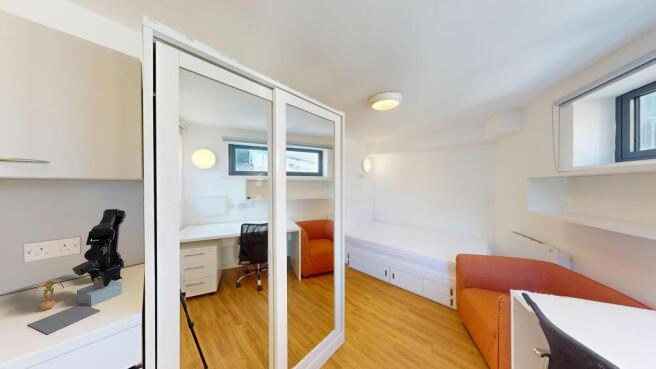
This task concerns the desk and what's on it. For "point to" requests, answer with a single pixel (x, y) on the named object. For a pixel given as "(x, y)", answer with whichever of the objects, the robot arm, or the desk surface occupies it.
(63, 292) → the desk surface
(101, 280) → the cover
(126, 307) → the desk surface
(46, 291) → the figurine
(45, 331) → the mat
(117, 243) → the robot arm
